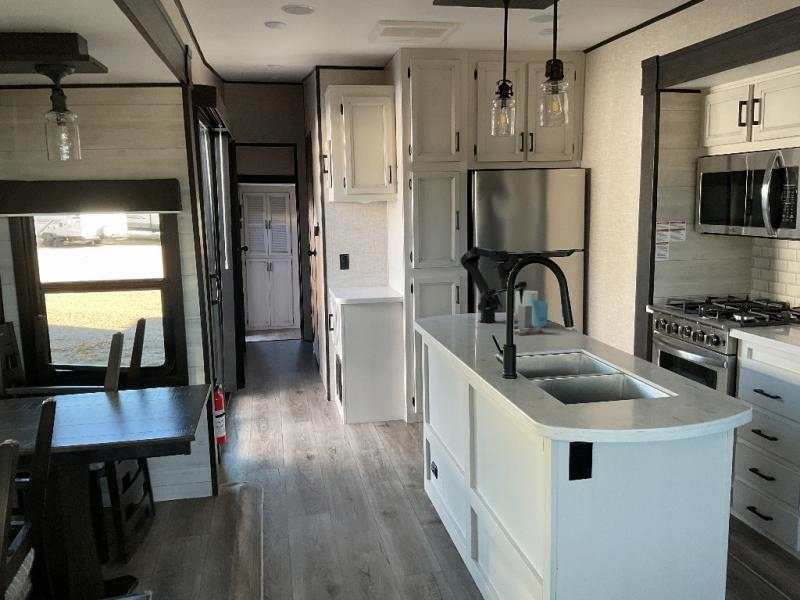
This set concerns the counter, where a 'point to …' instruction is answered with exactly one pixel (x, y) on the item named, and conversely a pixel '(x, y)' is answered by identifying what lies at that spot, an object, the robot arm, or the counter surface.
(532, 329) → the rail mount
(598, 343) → the counter surface
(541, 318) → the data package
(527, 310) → the module
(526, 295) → the supplement box
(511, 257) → the robot arm
